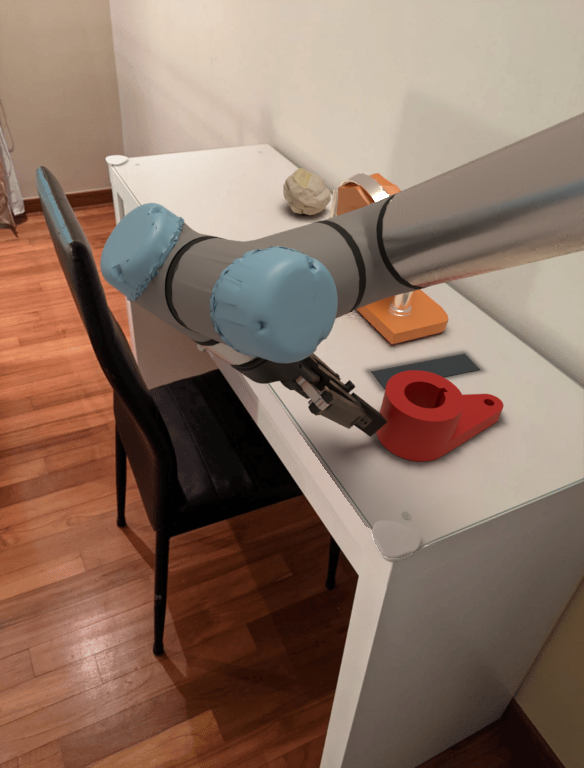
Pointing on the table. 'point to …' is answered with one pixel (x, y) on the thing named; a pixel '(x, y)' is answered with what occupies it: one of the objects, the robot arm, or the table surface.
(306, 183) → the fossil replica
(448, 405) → the lever
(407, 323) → the desk clock
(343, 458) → the table surface
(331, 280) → the robot arm
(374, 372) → the strip
